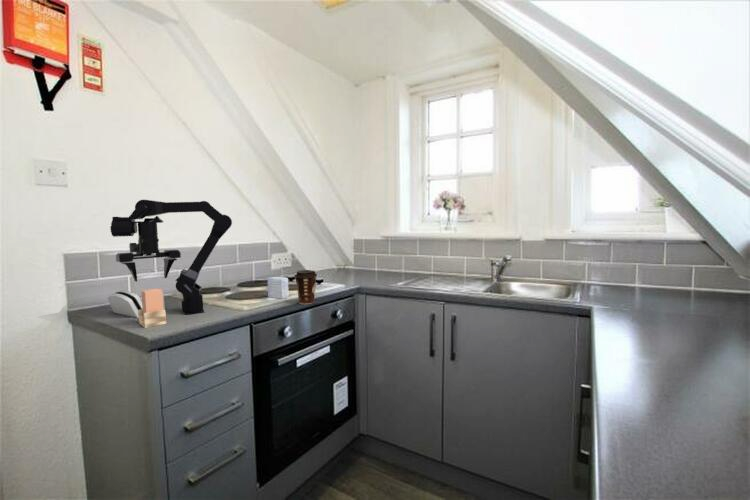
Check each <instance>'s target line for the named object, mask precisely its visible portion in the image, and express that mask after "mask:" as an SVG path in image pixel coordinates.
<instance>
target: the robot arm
mask: <svg viewBox="0 0 750 500" xmlns="http://www.w3.org/2000/svg"><path fill="white" fill-rule="evenodd" d="M197 212H198V213H204V214H205V215H206V216H207V217H209V219H211V220H212V222H213V225H212V227H211V230H210V233H209V236H208V237H207V238H206V240H205V242H204V243H203V245H202V247H201V248H200V250H199V252H198V253H197V254H196V257H195V258H194V259H193V262H192V263H191V264H190V266H189V268H188V269H185V268H183V269H182V270H181V271H180V273H179V276H178V277H177V278H176V279H175V282H176V283H175V289H176V290H177V292H179V293H180V294H181V295H182V299H181V300H180V305H181V312H182V313H183V314H184V315H192V314H193V315H194V314H198V313H200V314H201V313H205V310H204V301H203V300H204V299H203V294H202V293H201V292H202V289H203V287H202V286H201V285H199V284H198V283H197V280H198V278H199V275H200V272H201V270H202V268H203V267H204V265H205V264H206V262H207V260H208V259H209V257H210V255H211V253H212V252H213V250H214V249H215V247H216V245H218V242H219V240H221V238H222V237H223V236H224V235H225V234H226V233H227V231H228V230H230V228H231V227H232V224H233V220H232V218H231V217H230V216H229V215H226V214H223V213H221V212H220V211H218V209H216V208H215V207H214V206H213V205H211V204H210V202H208V201H205V200H202V201H178V202H177V201H175V202H172V201H171V202H170V201H169V202H165V201H159V200H150V199H140V200H138V201H137V202H136V203H135V205H134V210H133V211H132V212H131V214H130V215H129V216H124V217H121V216H112V218H111V219H112V221H111V223H110V233H111V236H112V237H114V238H115V237H117V238H118V237H134V235H135V234H137V235H138V238H137V239H138V240H137V242H130V243H129V244H128V245H129V246H128V247H129V252H128V251H127V252H117V253H116V255H115V260H116V262H118V263H121V265H122V264H123V265H125V266H126V267H127V269H128V271H130V274H131V277H132V278H133V280H134V282H135V283H136V282H138V274H137V273H138V272H137V266H136V262H135V261H134V260H141V259H142V260H143V259H153V258H154V259H155V258H163V265H164V266H163V276H164V279H167V278H168V276H169V273H170V270H171V268H172V266H173V264H174V262H175V261H177V260H178V258H179V259H180V258H182V256H181V251H180V250H179V249H164V251H163V252H160V249H159V242H160V240H159V238H158V237H159V236H158V233H159V232H158V224H161V223H164V220H162V219H161V217H159V216H161V215H163V214H164V215H165V214H169V213H170V214H172V213H173V214H175V213H176V214H177V213H197ZM154 216H155V217H154ZM149 217H150V218H149ZM136 220H142V221H136Z"/></svg>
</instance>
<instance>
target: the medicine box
mask: <svg viewBox="0 0 750 500" xmlns="http://www.w3.org/2000/svg"><path fill="white" fill-rule="evenodd" d="M268 297H269V298H270V299H278V300H279V299H280V300H284V299H288V298H289V278H288V277H284V276H283V277H280V276H273V277H272V276H271V277H268V278H267V298H268ZM269 298H268V299H269Z"/></svg>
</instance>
